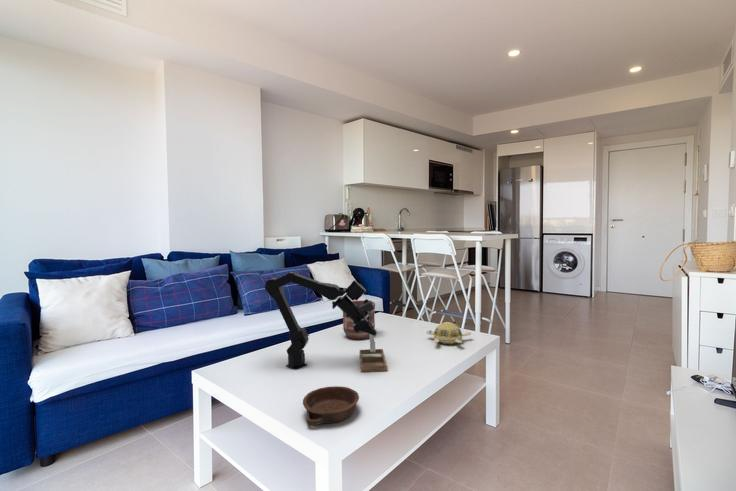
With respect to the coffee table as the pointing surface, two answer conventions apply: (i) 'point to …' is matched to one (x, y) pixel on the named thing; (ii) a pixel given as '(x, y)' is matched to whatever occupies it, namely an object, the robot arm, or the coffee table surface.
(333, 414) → the dish
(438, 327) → the decorative figurine
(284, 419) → the coffee table surface
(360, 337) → the pottery
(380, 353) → the organiser
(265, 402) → the coffee table surface
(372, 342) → the lighter
